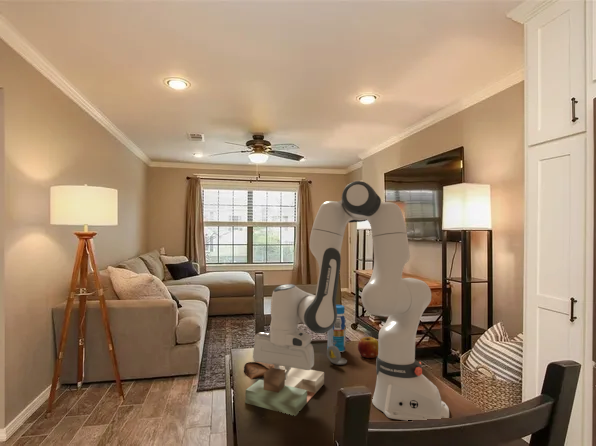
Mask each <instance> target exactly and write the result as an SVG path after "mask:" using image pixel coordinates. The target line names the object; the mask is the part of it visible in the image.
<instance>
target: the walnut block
mask: <svg viewBox="0 0 596 446" xmlns="http://www.w3.org/2000/svg"><path fill="white" fill-rule="evenodd" d="M263 380H264V390H268V391H273V392H278V393H279V391H280V390H281V389H282V388H283V387H284V386H285V370H282V369H275V368H270V369H269V370H267V371H266V372H265V373H264V377H263Z"/></svg>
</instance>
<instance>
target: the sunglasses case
mask: <svg viewBox="0 0 596 446" xmlns="http://www.w3.org/2000/svg"><path fill="white" fill-rule="evenodd" d="M270 368H274V364H268V363H262V362H256V361H248V362H245V363H244V366H243V372H244V373H245V374H246V376H247V377H248V378H249V379H250V380H255V379H259V378H264V373H265V372H266V371H267V370H269V369H270Z"/></svg>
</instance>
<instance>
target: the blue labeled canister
mask: <svg viewBox="0 0 596 446" xmlns="http://www.w3.org/2000/svg"><path fill="white" fill-rule="evenodd" d="M336 308H337V320H336V323H335V325H334V326H333V327H332V328H331V329H330V330H329V331H327V349H328V348H329V347H330V346H332V345H334V344H333V343H334V342H335V341H336V342H335V343H336V344H335V346H336V347H337V348H338V349H339V351H340V352H342V353H344V352H345V351H346V330H347V325H346V323H347V320H346V317H345V316H344V314H345V309H346V308H345V305H344V304H343V305H342V304H336ZM331 340H332V342H333V343H332V342H331ZM333 340H335V341H333ZM327 349H326V350H327ZM331 352H332V351H331Z"/></svg>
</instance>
